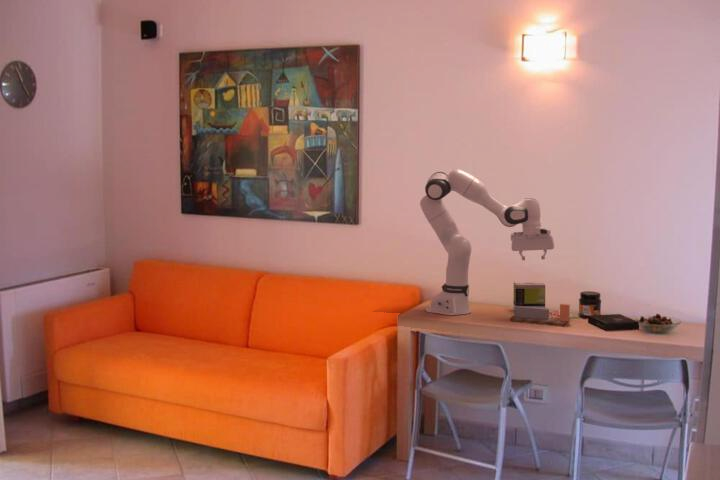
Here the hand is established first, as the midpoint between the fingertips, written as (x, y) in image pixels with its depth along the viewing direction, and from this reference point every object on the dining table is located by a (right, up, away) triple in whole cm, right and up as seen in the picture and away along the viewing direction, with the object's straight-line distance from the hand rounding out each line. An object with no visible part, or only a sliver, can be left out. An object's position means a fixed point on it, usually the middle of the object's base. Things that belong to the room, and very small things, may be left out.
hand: (533, 259), depth 377 cm
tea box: (+2, -27, +18) cm, 33 cm away
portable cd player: (+34, -31, -13) cm, 48 cm away
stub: (+12, -29, -10) cm, 33 cm away
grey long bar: (-2, -28, -3) cm, 28 cm away
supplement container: (+29, -29, +6) cm, 41 cm away
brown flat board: (+2, -30, -5) cm, 30 cm away
